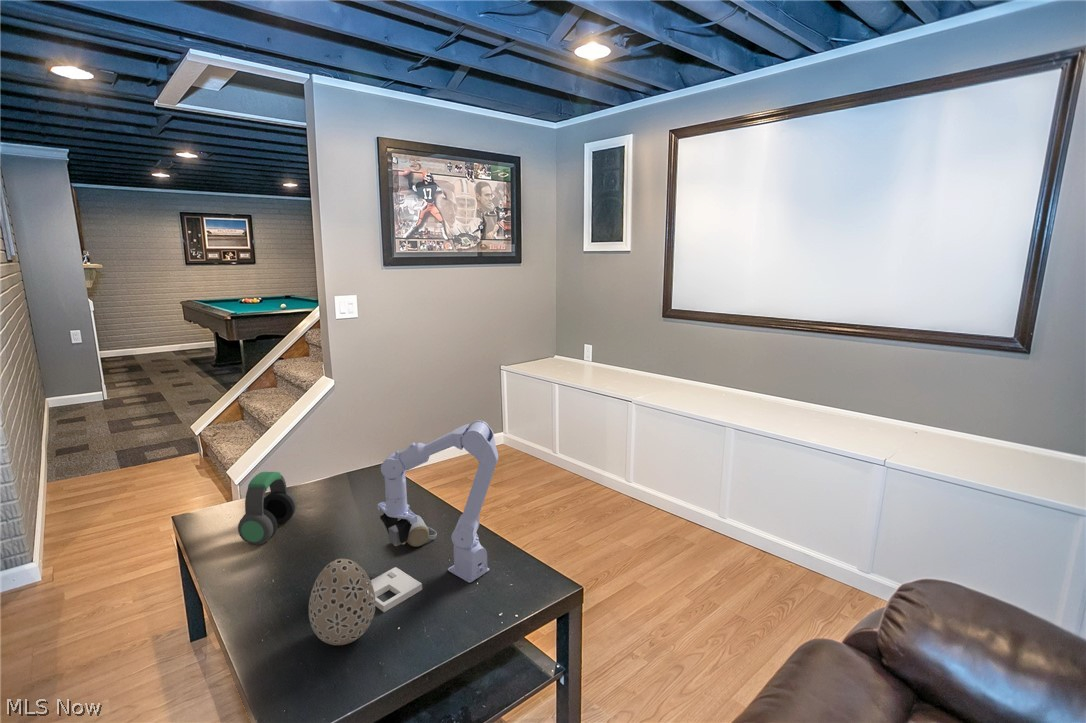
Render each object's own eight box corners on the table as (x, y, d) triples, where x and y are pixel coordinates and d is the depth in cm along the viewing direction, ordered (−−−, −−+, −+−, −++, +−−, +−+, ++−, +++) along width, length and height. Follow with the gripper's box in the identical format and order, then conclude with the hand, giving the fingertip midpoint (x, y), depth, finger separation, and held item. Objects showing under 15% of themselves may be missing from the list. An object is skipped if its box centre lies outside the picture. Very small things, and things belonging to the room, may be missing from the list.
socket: (422, 589, 143) (421, 582, 142) (384, 612, 134) (383, 605, 133) (395, 572, 150) (395, 566, 150) (358, 593, 141) (357, 586, 141)
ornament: (356, 608, 135) (350, 537, 131) (389, 634, 126) (385, 559, 122) (300, 640, 124) (292, 564, 120) (332, 671, 115) (325, 590, 111)
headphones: (271, 547, 163) (265, 487, 158) (236, 547, 163) (229, 487, 159) (300, 517, 181) (295, 463, 177) (269, 517, 181) (263, 462, 177)
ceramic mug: (408, 551, 161) (407, 528, 160) (399, 539, 168) (399, 517, 166) (441, 542, 167) (440, 519, 165) (431, 530, 173) (431, 509, 172)
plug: (408, 543, 152) (407, 527, 151) (397, 548, 149) (396, 532, 148) (400, 538, 154) (399, 522, 153) (389, 543, 151) (388, 528, 150)
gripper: (424, 496, 148) (426, 540, 151) (390, 484, 156) (392, 525, 158) (405, 506, 142) (407, 551, 145) (370, 492, 150) (373, 536, 153)
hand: (398, 539), depth 151 cm, fingers closed on plug, 4 cm apart
